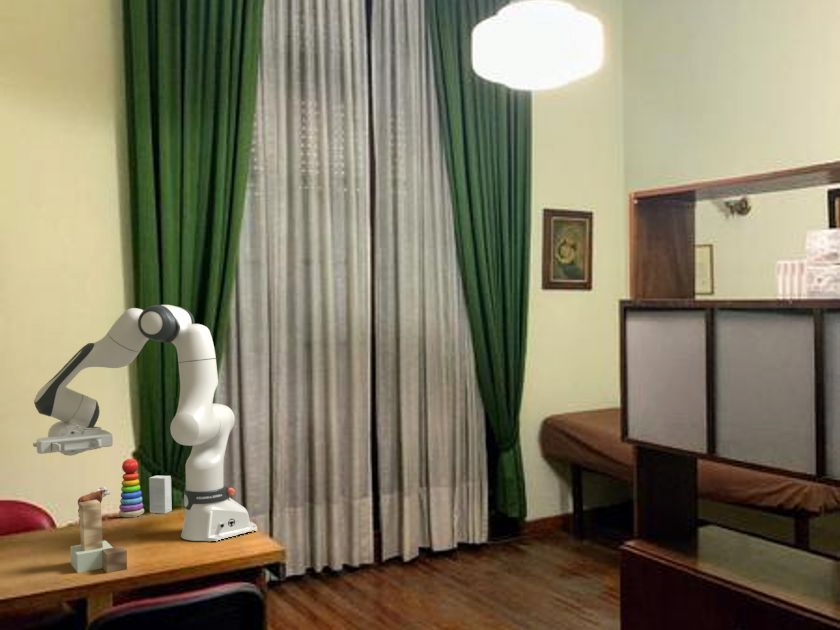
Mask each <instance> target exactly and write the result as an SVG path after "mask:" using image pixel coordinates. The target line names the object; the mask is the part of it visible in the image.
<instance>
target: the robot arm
mask: <svg viewBox="0 0 840 630" xmlns="http://www.w3.org/2000/svg"><path fill="white" fill-rule="evenodd" d="M149 340H151V341H155V342H159V343H165V344H170V343H171V344H173V345H174V347H175V349H176V352H177V353H176V354H177V362H178V374H179V382H180V383H179V386H180V387H179V390H180V391H179V397H178V398H179V399H178V406H177V410H176V413H175V416H174V417H173V419H172V421H171V423H170V428H169V429H170V434H171V437H172V438H173V440H174V441H175V442H176V443H178V444H179V445H182V446H189V447H191V446H192V447H191V452H190V454H189V456H188V458H187V459H186V463H185V488H184V490H183V491H184V492H183V493H184V495H183V503H184V505H183V507H184V508H185V510H184V518H183V519H184V520H183V527H182V530H181V534H180V537H181V538H182V539H183V540H186V541H192V542H193V541H194V542H196V541H197V542H211V541H216V542H219V541H218V540H220V541H222V540H221V539H224V538H228V537H232V536H236V535H238V534H242V533H246V532H249V531H252V530H255V531H256V532H258V525H257V524H256V523H254V522H253V521H250V515H249V512H248V510H247V508H246V507H244V506H243V505H241V503H239V502H237V501H236V500H235V499H233V498H231V497H230V496H234V495H235V494H236V489H234V488H233V487H228V486H227V485H224V484H225V483H224V462H225V454H226V449H227V445H228V441H229V437H230V434H231V431H232V430H233V427H234V426H235V421H236V418H235V417H236V416H235V414H234V412H233V410H232V409H231V408H230V407H229V406H227V405H225V404H221V403H215V402H214V397H215V392H216V390H217V388H218V385H219V376H218V367H217V366H218V365H217V357H216V350H215V346H214V341H213V336H212V334H211V331H210V329H209V328H208V326H205V325H203V324H200V323H195V318H194V315H193V314H192V313H191V312H190V310H188V309H186V308H185V307H183V306H175V305H171V304H153V305H150V306H148V307H146V308H145V309H141V308H138V307H137V308H136V307H131V308H128V309H126V310H125V311H124V312H123V313H122V314H121V315H120V316H119V317H118V318H117V319H116V320H115V322H114V323H113V324H112V326H111V327H110V329H109V330H108V332H107V333H106V334H105V335H104V336H103V337H102V338H100V339H98V341H95V342H89V343H86V344H85V345H83V346H82V347H81V348H80V349H79V350H78V351H77V352H76V353H75V354H74V355H72V357H71V358H70V359H69V360H68V361H67V363H66V364H64V366H63V367H62V368H61V369H60V370H59V371H58V372H57V373H55V375H54V376H53V377H52V378H51V379H49V381H47V383H46V384H44V385H43V386H42V387H41V388H40V389H39V390H38V391H37V394H36V395H35V397H34V399H33V404H34V406H35V408H36V412H38V413H39V414H40V415H43V416H46V417H52V418H54V419H56V420H58V422H55V423H54V424H52V425H51V427H50V428H49V429H48V432H47V437H41V438H37V439H36V442H32V446H33V448H36V452H37V454H41V455H43V454H51V453H52V454H53V453H61V454H62V455H63V456H76V455H78V454H80V453H81V454H82V453H84V452H87V451H92V450H97V449H101V448H109V447H112V446H113V434H112V433H111V432H109V431H108V430H105V429H102V427H101V426H96V424H97V422H98V419H99V416H100V406H99V403H98V401H97V400H96V399H94V398H92V397H90V396H88V395H85V394H83V393H81V392H78V391H76V390H73V389H71V388H68V387H67V386H68V385H69V384H70V383H71V382H72V380H74V379H75V377H77V375H78V374H79V373H80V372H82V371H83V370H85V369H88V368H108V369H118V368H124V367H126V366H128V365H130V364H132V363H133V361H134V360H135V359H136V358H137V356H138V355H139V354H140V352H141V350H142V349H143V348H144V346H145V344H146V343H147V342H148V341H149ZM236 537H237V536H236ZM232 538H233V537H232ZM228 539H229V538H228ZM224 540H225V539H224Z"/></svg>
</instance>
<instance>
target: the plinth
mask: <svg viewBox="0 0 840 630" xmlns="http://www.w3.org/2000/svg"><path fill="white" fill-rule="evenodd" d="M102 541H103V547H102V548H98V549H93V550H88V551H84V550H83V549H82V548H81V544H77V545H76V544H75V545H71V546H70V548H69V549H70V565H71V566H72V567H73V569H74V570H75V572H76V573H77V574H78V573H84V572H90V571H94V570H100V569H103V568H102V550H103V549H109V548H114V547H113V546H112V545H111V544H110V543H109V542H108V541H107V540H102Z"/></svg>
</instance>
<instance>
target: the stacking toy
mask: <svg viewBox="0 0 840 630" xmlns="http://www.w3.org/2000/svg"><path fill="white" fill-rule="evenodd" d="M121 467H122V468H121V469H122V471H123V473H124V474H123V475H122V481H121V485H122V487H120V490H121V492H120V497H121V498H120V500H119V503H120V504H119V507H118V508H119V511H118V515H119V516H120V517H121V518H135V517H138V516H141V515H143V514H144V513H145V509H144V504H143V503H144V502H143V496H142V493H143V492H142V490H140V489H141V486H140V479H139V473H138V472H137V470H138V469H139V463H138V461H137V460H136V459H134V458H127V459H126V460H124V461H123V463H122V465H121Z"/></svg>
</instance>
